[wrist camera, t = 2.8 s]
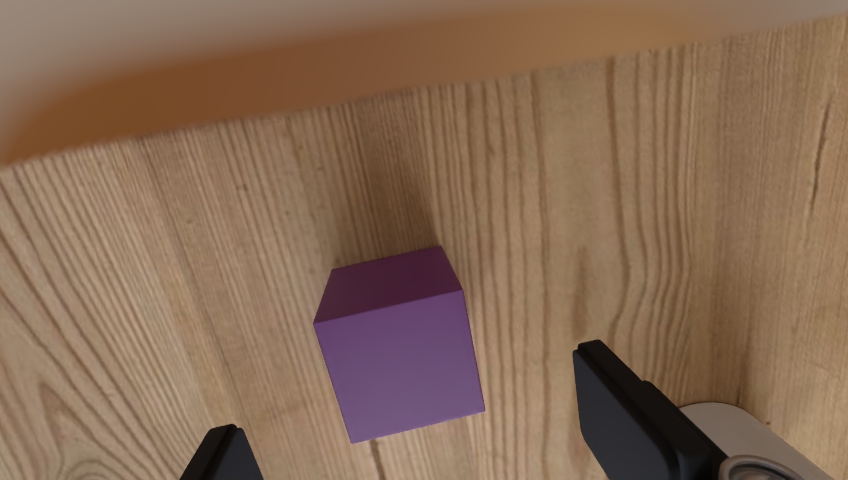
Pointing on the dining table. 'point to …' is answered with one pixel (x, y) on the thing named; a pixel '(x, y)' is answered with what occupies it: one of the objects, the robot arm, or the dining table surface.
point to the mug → (748, 437)
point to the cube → (398, 344)
